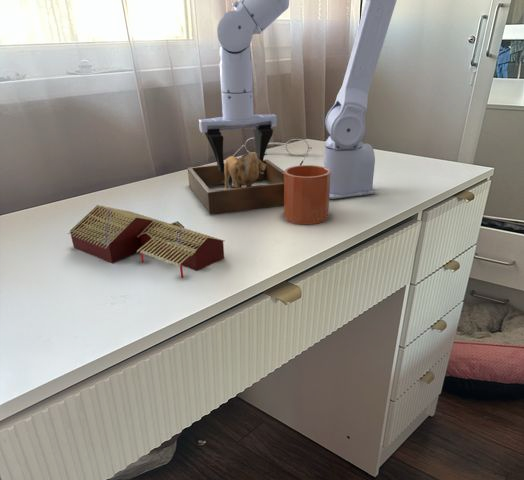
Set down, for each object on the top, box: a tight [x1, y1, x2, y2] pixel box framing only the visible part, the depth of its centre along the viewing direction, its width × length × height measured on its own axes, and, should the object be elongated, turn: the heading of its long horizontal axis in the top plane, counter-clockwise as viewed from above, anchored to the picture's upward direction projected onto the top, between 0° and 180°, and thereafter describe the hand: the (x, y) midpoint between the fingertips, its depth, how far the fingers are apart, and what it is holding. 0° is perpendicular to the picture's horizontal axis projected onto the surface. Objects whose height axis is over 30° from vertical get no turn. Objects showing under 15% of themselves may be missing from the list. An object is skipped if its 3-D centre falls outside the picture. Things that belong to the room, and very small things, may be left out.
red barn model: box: [67, 204, 226, 279], centre depth 77 cm, size 22×13×5 cm, turn 51°
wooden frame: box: [187, 159, 284, 215], centre depth 101 cm, size 18×19×4 cm
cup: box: [283, 164, 331, 226], centre depth 88 cm, size 8×8×8 cm
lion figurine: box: [221, 151, 266, 189], centre depth 100 cm, size 15×5×9 cm, turn 33°
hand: (240, 168), depth 99 cm, fingers open, 7 cm apart
